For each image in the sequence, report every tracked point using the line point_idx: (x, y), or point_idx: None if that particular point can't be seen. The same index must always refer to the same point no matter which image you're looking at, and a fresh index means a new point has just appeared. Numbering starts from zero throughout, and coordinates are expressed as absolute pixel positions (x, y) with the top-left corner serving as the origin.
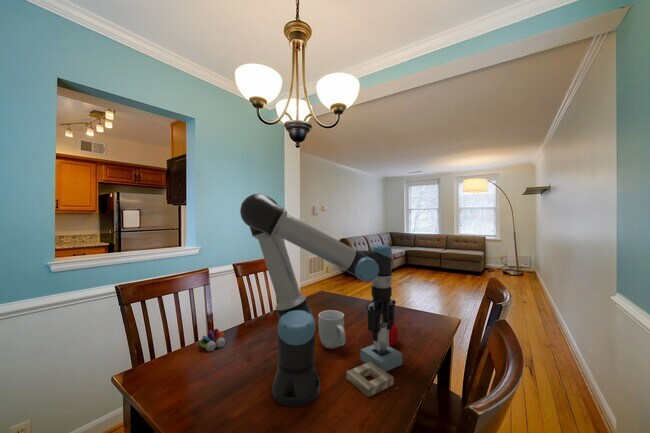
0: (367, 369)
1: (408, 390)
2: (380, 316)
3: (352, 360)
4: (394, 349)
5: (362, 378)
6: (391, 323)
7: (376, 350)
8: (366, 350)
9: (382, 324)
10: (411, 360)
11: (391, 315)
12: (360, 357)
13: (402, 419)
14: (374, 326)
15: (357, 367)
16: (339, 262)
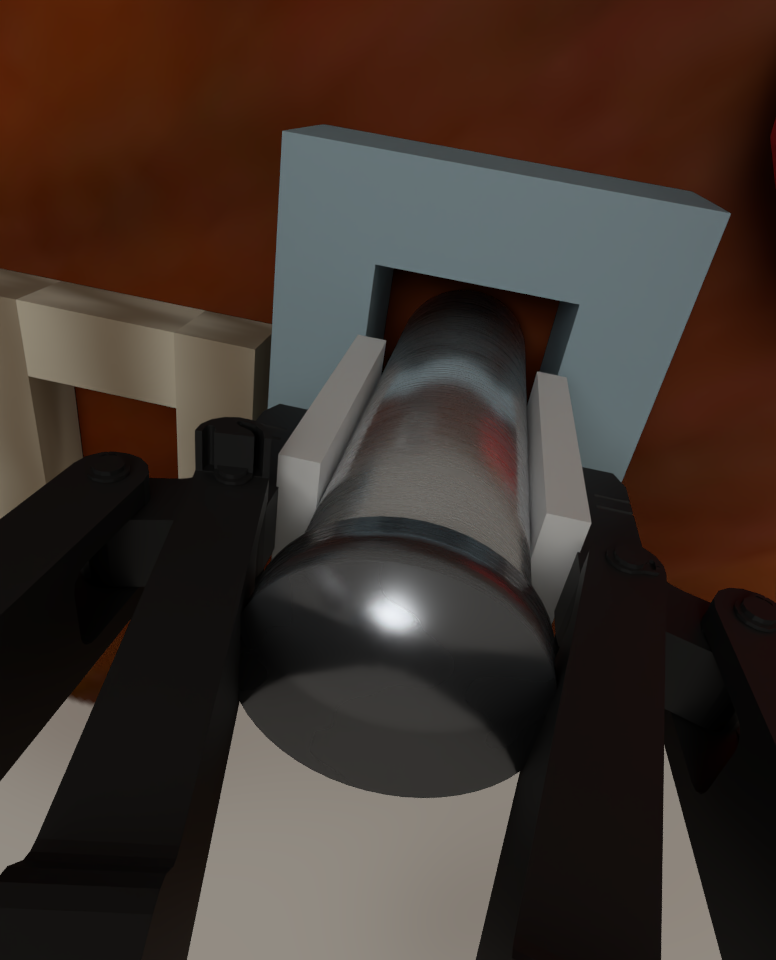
0: (149, 398)
1: None
2: (190, 909)
3: (230, 59)
4: (621, 472)
5: (22, 449)
6: (668, 730)
7: (392, 354)
8: (326, 222)
9: (288, 744)
10: (711, 534)
11: (729, 942)
12: (316, 125)
13: (95, 685)
14: (87, 654)
15: (71, 319)
16: None
